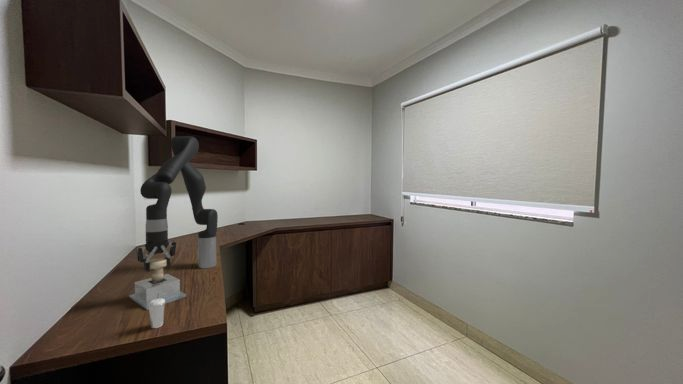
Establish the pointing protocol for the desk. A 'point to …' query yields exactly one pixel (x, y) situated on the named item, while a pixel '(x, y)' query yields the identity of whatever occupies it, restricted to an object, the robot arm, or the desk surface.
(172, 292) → the block
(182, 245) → the desk surface
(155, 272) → the beech pin
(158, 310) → the milkshake
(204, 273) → the desk surface
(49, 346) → the desk surface
